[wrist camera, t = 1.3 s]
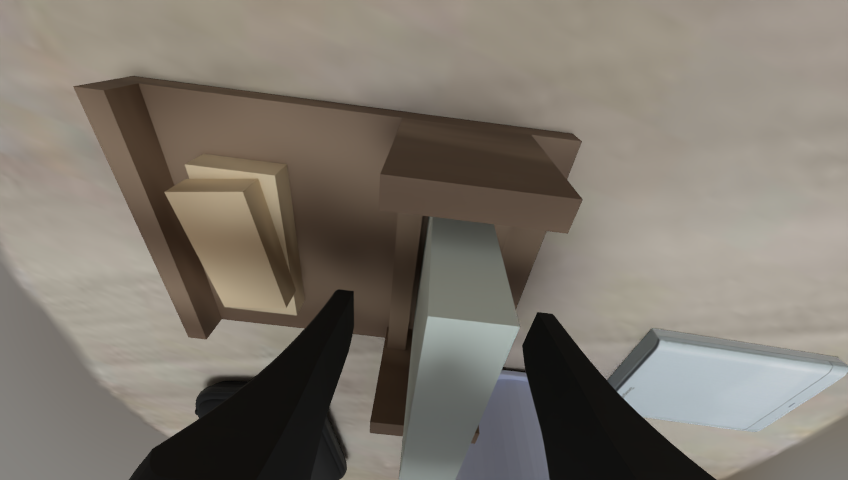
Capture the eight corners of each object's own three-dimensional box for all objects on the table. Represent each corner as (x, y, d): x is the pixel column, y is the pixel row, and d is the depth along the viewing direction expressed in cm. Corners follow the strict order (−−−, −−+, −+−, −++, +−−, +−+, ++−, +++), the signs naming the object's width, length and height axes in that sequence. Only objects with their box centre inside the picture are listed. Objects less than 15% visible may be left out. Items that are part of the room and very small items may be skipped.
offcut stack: (307, 299, 18) (290, 333, 16) (239, 291, 18) (214, 325, 16) (290, 164, 14) (264, 189, 12) (199, 153, 14) (158, 175, 12)
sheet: (448, 322, 19) (451, 487, 12) (414, 318, 19) (398, 482, 12) (481, 177, 14) (519, 326, 7) (434, 171, 13) (427, 315, 7)
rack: (497, 337, 21) (516, 448, 15) (214, 304, 20) (132, 407, 15) (573, 133, 13) (661, 209, 8) (132, 76, 13) (-90, 114, 7)
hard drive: (596, 413, 23) (756, 436, 24) (662, 342, 19) (857, 372, 19) (587, 392, 25) (739, 414, 25) (646, 320, 20) (830, 349, 21)
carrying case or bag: (187, 370, 25) (252, 455, 33) (158, 409, 23) (237, 491, 31) (320, 372, 24) (353, 459, 33) (305, 412, 22) (346, 495, 30)
